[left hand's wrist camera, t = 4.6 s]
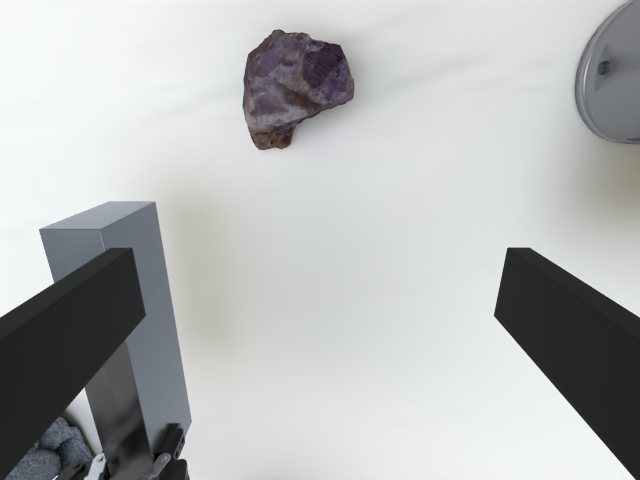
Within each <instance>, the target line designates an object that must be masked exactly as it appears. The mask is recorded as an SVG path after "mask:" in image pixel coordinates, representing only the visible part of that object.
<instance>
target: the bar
mask: <svg viewBox="0 0 640 480" xmlns="http://www.w3.org/2000/svg"><path fill="white" fill-rule="evenodd" d="M39 231H40V235H41V238H42V242H43V245H44V249H45V252H46V256H47V259H48V263H49V266H50V269H51V273H52V276H53V280H54V283H56V282H57V281H59V280H60V279H62V278H64V277H65V276H67V275H68V274H70V273H71V272H73V271H75V270H76V269H78V268H79V267H81V266H82V265H84V264H86V263H87V262H89V261H90V260H92V259H94V258H95V257H97V256H98V255H100V254H101V253H103V252H105V251H106V250H108V249H109V248H133V253H134V258H135V263H136V268H137V273H138V278H139V283H140V288H141V293H142V298H143V303H144V308H145V313H146V316H145V318H144V319H143V320H142V321H141V322H140V323H139V325H138V326H137V327H136V328H135V329H134V330H133V331H132V333H131V334H130V335H129V336H128V337H127V338H126V340H125V341H124V342H123V343H122V344H121V345H120V346H119V348H118V349H117V350H116V351H115V352H114V353H113V355H112V356H111V357H110V358H109V359H108V360H107V362H106V363H105V364H104V365H103V366H102V367H101V368H100V370H99V371H98V372H97V373H96V374H95V375H94V377H93V378H92V379H91V380H90V381H89V382H88V383H87V385H86V386H85V391H86V394H87V397H88V401H89V404H90V408H91V411H92V415H93V418H94V422H95V425H96V429H97V432H98V436H99V439H100V442H101V446H102V449H103V453H104V456H105V460H106V463H107V467H108V470H109V474H110V477H111V480H135V479H136V478H137V477H138V476H139V475H140V474H141V473H145V472H146V471H147V470H148V469H149V468H150V466H151V465H152V464H153V463H154V462H155V460H156V459H157V458H158V457H159V451H160V449H161V447H162V444H163V442H164V440H165V438H166V436H167V434H168V432H169V430H170V428H171V426H172V424H173V423H181V428H183V430H184V436H186V434H187V431H188V429H189V427H190V424H191V422H192V421H191V414H190V408H189V402H188V396H187V390H186V384H185V378H184V372H183V366H182V360H181V354H180V348H179V342H178V336H177V330H176V324H175V318H174V312H173V306H172V300H171V294H170V288H169V281H168V275H167V269H166V263H165V257H164V251H163V245H162V239H161V233H160V227H159V221H158V215H157V209H156V203H155V202H107V203H104V204H102V205H99V206H97V207H94V208H92V209H89V210H87V211H84V212H82V213H79V214H77V215H74V216H71V217H69V218H66V219H64V220H61V221H59V222H56V223H54V224H51V225H49V226H46V227H44V228H41V229H39Z"/></svg>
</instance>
